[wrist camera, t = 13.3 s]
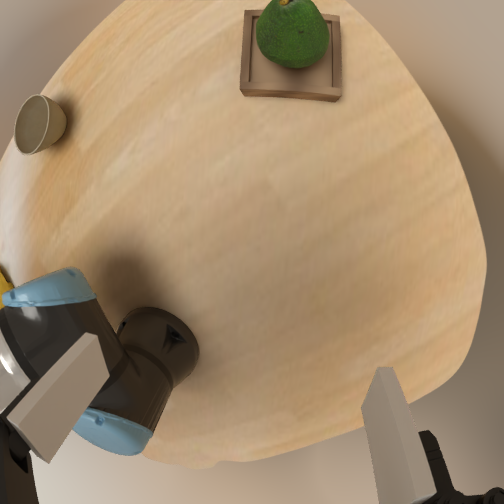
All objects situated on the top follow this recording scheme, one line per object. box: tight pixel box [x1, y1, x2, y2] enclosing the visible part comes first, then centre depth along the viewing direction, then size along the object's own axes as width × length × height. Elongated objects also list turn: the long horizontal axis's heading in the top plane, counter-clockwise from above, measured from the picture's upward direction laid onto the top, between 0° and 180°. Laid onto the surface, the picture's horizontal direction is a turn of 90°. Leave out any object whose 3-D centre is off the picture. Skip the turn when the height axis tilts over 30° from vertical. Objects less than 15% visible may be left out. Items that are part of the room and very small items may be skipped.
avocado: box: [256, 0, 330, 68], centre depth 22 cm, size 8×8×12 cm
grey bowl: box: [14, 94, 67, 155], centre depth 33 cm, size 10×10×7 cm
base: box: [240, 10, 341, 102], centre depth 29 cm, size 12×12×4 cm
